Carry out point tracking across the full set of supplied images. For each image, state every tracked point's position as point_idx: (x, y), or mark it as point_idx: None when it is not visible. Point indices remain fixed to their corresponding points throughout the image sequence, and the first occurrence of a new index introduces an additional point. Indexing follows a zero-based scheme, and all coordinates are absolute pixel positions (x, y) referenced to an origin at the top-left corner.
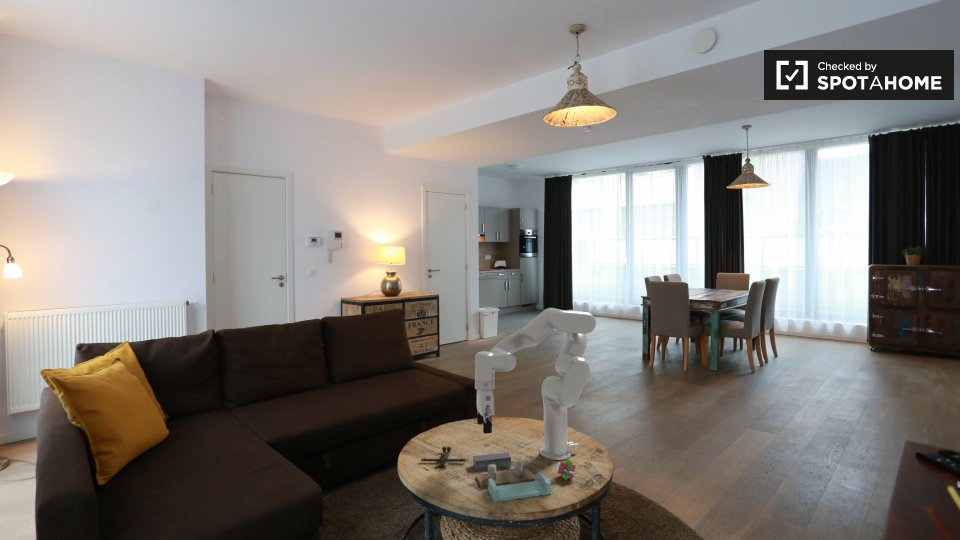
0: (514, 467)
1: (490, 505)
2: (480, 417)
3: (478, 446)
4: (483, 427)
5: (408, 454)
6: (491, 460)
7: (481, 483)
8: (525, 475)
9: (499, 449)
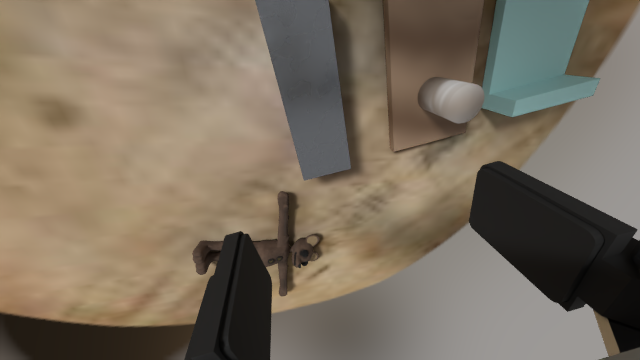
0: None
1: None
2: (260, 334)
3: (100, 152)
4: (521, 262)
5: None
6: (341, 99)
7: (454, 132)
8: None
9: (94, 36)
